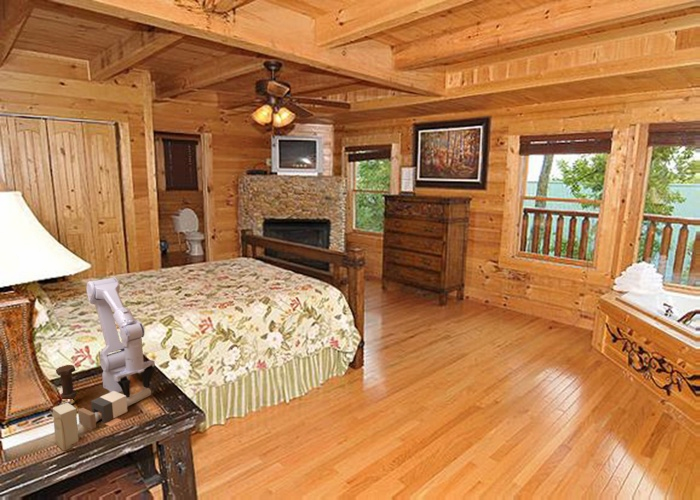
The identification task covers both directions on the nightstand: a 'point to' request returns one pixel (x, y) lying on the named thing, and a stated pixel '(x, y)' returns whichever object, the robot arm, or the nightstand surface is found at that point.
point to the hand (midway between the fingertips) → (136, 391)
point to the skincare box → (65, 425)
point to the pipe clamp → (91, 418)
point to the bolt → (67, 381)
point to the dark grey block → (103, 408)
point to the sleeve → (117, 402)
